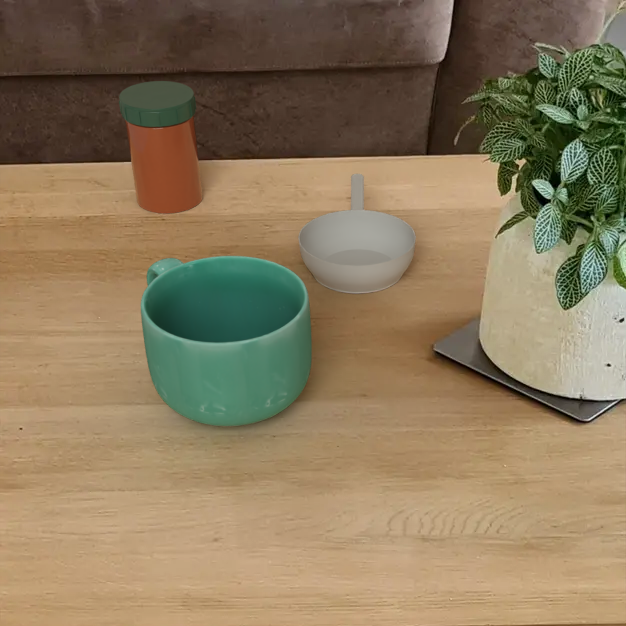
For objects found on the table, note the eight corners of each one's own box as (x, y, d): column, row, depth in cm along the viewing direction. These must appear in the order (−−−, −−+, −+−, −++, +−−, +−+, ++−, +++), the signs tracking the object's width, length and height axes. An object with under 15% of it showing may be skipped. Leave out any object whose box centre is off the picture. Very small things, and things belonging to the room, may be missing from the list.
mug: (344, 412, 92) (341, 309, 86) (199, 469, 86) (185, 362, 80) (243, 318, 102) (234, 220, 96) (108, 363, 96) (89, 262, 90)
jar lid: (133, 132, 110) (130, 113, 109) (113, 105, 115) (110, 87, 114) (205, 120, 113) (203, 101, 112) (182, 94, 118) (180, 76, 116)
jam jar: (147, 218, 116) (133, 116, 109) (129, 191, 121) (114, 91, 114) (211, 206, 119) (200, 105, 112) (191, 179, 123) (179, 81, 116)
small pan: (297, 300, 105) (295, 262, 102) (305, 208, 119) (303, 173, 116) (417, 299, 105) (418, 262, 103) (410, 208, 119) (411, 173, 117)
